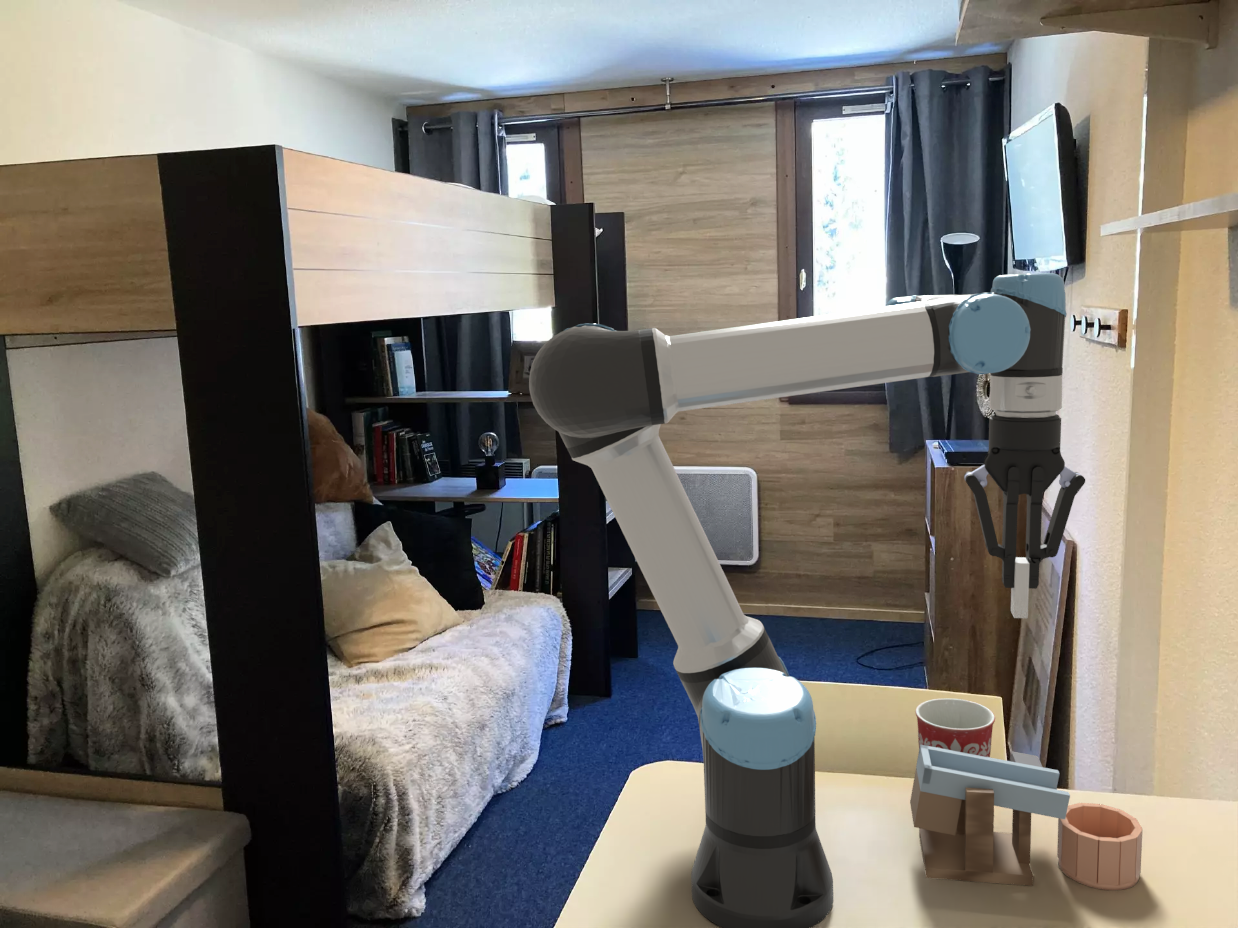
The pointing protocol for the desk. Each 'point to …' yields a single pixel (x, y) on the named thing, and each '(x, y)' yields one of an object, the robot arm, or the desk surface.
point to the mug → (955, 725)
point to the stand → (980, 845)
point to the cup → (1100, 846)
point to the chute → (980, 786)
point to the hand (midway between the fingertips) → (1019, 614)
